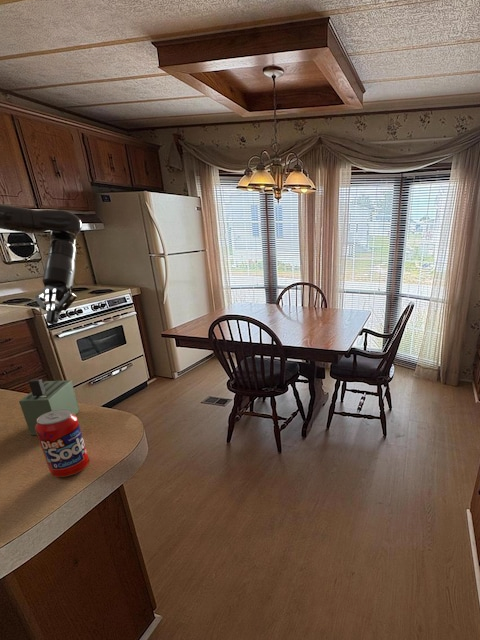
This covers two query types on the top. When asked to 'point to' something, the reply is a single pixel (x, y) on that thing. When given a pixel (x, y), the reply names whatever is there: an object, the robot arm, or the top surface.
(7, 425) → the top surface
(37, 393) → the slider
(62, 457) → the soda can
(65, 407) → the toaster
